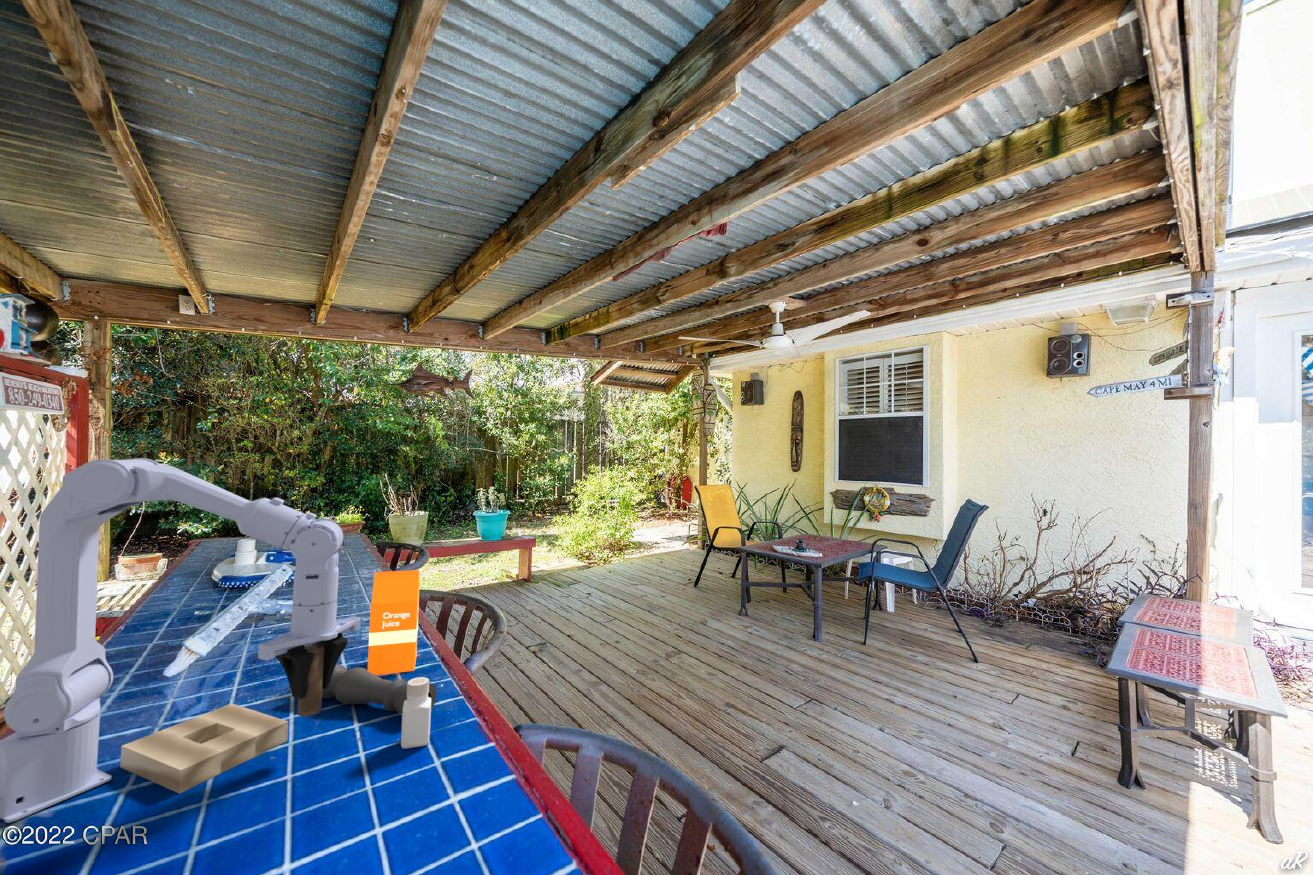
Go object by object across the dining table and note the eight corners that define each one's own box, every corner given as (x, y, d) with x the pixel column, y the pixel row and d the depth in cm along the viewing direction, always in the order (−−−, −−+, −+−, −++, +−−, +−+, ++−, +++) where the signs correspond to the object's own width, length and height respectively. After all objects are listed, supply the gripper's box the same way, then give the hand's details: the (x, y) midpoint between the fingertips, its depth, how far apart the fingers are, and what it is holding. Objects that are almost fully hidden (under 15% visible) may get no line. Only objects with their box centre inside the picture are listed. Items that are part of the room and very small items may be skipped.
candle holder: (303, 662, 96) (416, 685, 89) (331, 656, 102) (440, 678, 95) (294, 698, 95) (409, 725, 88) (324, 691, 100) (434, 715, 93)
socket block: (179, 793, 69) (180, 770, 70) (120, 767, 75) (121, 745, 75) (287, 740, 82) (288, 721, 83) (230, 721, 88) (231, 703, 88)
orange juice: (414, 670, 110) (419, 574, 110) (366, 676, 107) (371, 576, 107) (416, 656, 117) (420, 566, 118) (371, 661, 114) (376, 568, 114)
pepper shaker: (402, 737, 85) (405, 677, 85) (429, 733, 86) (432, 674, 86) (400, 750, 81) (403, 688, 81) (428, 746, 82) (431, 684, 82)
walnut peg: (306, 718, 78) (310, 652, 78) (292, 713, 79) (296, 649, 79) (325, 709, 80) (329, 646, 81) (312, 705, 82) (315, 642, 82)
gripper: (284, 617, 72) (278, 719, 71) (375, 593, 85) (371, 678, 85) (250, 610, 74) (245, 708, 74) (344, 587, 88) (340, 670, 88)
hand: (310, 691), depth 80 cm, fingers closed on walnut peg, 3 cm apart
